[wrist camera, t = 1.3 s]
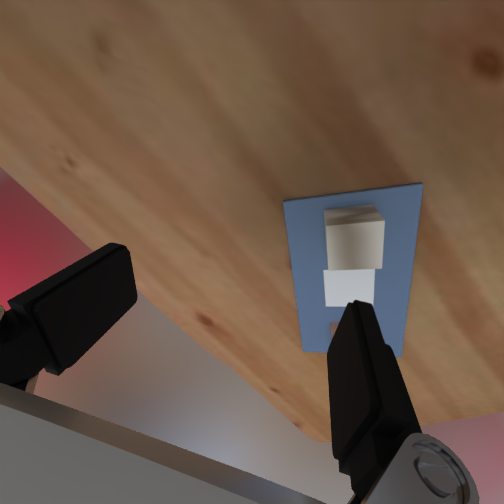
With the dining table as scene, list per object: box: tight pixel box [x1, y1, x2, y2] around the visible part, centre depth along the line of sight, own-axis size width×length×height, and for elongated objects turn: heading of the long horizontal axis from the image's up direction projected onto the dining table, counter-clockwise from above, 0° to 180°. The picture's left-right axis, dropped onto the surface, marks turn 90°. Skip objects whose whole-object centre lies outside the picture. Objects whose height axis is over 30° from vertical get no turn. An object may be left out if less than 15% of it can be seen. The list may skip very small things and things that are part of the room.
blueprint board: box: [283, 183, 423, 357], centre depth 30 cm, size 14×25×1 cm, turn 12°
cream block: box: [324, 204, 385, 271], centre depth 24 cm, size 5×5×5 cm
